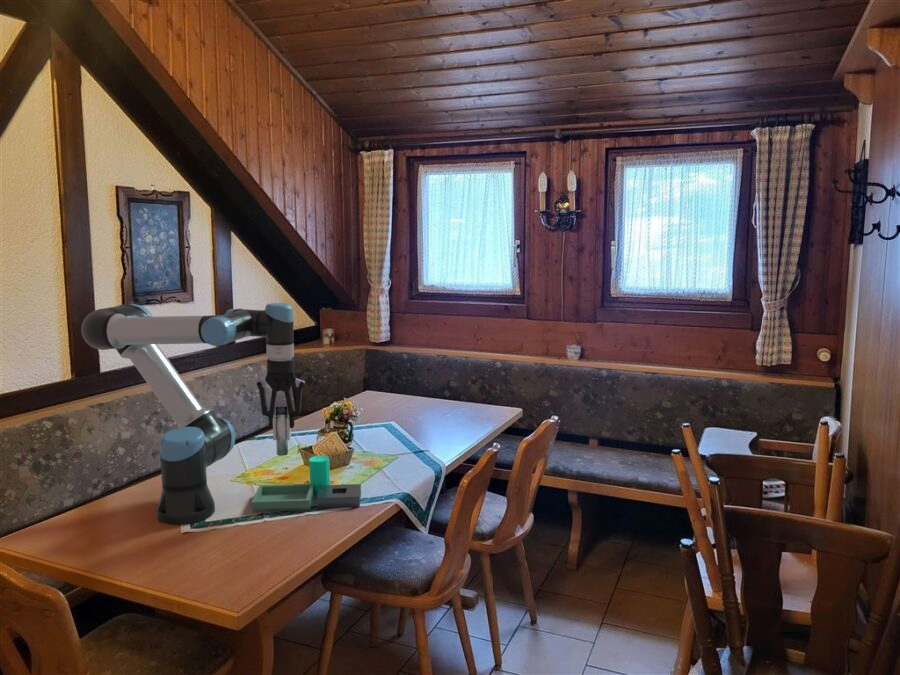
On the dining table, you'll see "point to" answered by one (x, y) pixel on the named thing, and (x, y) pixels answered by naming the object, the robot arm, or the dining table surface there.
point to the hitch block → (339, 496)
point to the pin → (281, 430)
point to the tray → (283, 498)
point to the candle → (319, 472)
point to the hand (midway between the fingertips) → (282, 438)
